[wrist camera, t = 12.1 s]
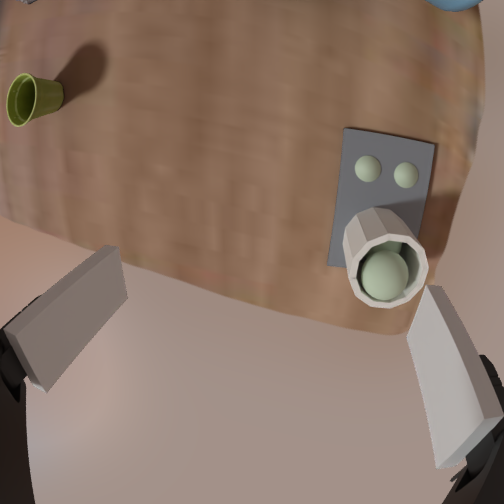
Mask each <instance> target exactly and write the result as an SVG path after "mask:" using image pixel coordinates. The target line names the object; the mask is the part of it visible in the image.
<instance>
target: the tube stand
mask: <svg viewBox="0 0 504 504" xmlns="http://www.w3.org/2000/svg"><path fill="white" fill-rule="evenodd" d="M434 146H435V145H433V144H429V143H424V142H420V141H415V140H411V139H406V138H401V137H396V136H391V135H385V134H380V133H374V132H368V131H361V130H355V129H348V128H344V133H343V144H342V155H341V165H340V174H339V183H338V191H337V199H336V207H335V215H334V222H333V229H332V236H331V242H330V249H329V255H328V261H327V266H335V267H344V268H347V271H348V277H349V281H350V283H351V286H352V288H353V291H354V294H355V296H356V297H358V298H359V299H360V300H362V301H363V302H365V303H366V304H368V305H369V306H371V307H380V308H392V307H395V306H398V305H400V304H403V303H406V302H408V301H409V300H410V299H411V298H412V297H413V296H414V295H415V294H416V293H417V292H418V291H419V290H420V289H421V288H422V287H423V285H424V282H425V278H426V275H427V272H428V269H429V267H428V263H427V258H426V254H425V250H424V248H423V247H422V246H421V244H420V243H419V241H418V240H417V238H418V234H419V230H420V226H421V221H422V217H423V212H424V207H425V202H426V197H427V192H428V186H429V180H430V174H431V168H432V161H433V154H434ZM389 240H390V241H397V242H402V248H401V251H400V253H399V254H398V255H400V256H401V257H402V258H403V260H404V261H405V263H406V265H407V267H408V282H407V285H406V287H405V289H404V290H403V291H402V293H401V294H399V295H398V296H397V297H395V298H393V299H389V300H379V299H376V298H374V297H372V296H370V295H369V294H368V293H367V292H366V290H365V289H364V287H363V285H362V281H361V270H362V266H363V264H364V262H365V261H366V259H367V258H366V257H365V256H364V255H365V254H366V253H367V252H368V251H369V250H370V248H371V247H373V246H376V245H379V244H381V243H384V242H386V241H389Z"/></svg>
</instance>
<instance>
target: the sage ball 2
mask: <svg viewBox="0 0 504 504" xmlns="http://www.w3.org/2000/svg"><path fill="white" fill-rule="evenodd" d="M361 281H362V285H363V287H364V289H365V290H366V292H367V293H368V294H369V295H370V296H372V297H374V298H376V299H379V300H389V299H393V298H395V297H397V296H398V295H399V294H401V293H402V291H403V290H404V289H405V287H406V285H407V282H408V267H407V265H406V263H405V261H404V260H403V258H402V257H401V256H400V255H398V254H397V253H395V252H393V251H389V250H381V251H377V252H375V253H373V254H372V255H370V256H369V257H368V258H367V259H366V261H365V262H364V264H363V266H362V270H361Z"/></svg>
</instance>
